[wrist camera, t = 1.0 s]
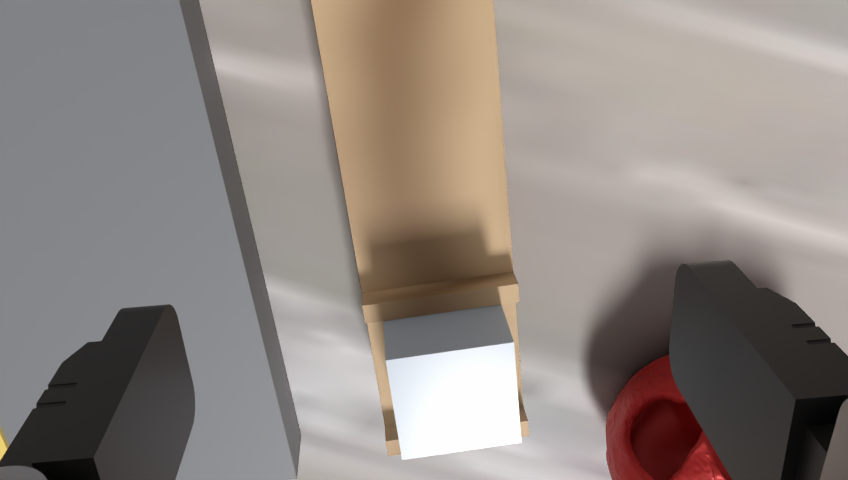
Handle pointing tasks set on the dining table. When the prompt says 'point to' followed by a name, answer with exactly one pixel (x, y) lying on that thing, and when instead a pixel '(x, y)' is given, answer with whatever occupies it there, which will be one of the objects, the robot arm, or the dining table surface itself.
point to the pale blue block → (453, 381)
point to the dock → (133, 220)
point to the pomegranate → (658, 432)
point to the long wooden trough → (420, 162)
